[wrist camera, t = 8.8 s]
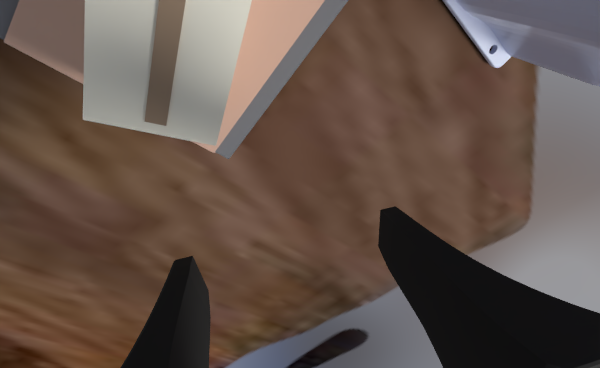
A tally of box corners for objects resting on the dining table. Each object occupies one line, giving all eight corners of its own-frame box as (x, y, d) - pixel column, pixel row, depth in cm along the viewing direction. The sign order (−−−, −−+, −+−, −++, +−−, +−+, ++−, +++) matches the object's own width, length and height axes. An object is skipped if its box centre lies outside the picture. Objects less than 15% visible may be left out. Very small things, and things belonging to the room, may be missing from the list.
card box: (214, 110, 17) (216, 146, 14) (107, 84, 16) (81, 120, 12) (254, -67, 14) (269, -72, 10) (119, -129, 12) (86, -159, 8)
